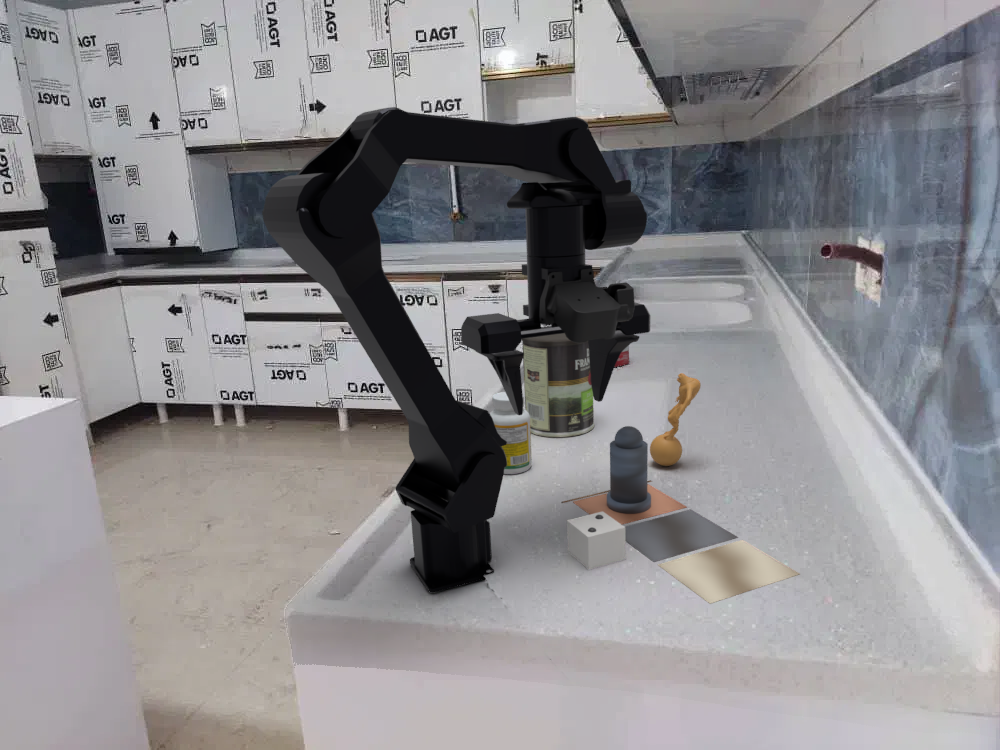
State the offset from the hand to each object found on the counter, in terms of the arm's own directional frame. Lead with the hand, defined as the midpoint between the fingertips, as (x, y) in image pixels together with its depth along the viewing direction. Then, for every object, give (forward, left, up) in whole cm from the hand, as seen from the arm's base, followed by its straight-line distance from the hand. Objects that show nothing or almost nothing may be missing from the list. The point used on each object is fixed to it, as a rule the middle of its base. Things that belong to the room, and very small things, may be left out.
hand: (559, 407), depth 77 cm
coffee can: (+15, +28, -13) cm, 34 cm away
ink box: (+41, +57, -13) cm, 71 cm away
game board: (+8, -9, -13) cm, 17 cm away
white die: (-1, -9, -13) cm, 16 cm away
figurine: (+20, +7, -13) cm, 25 cm away
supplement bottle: (+2, +17, -13) cm, 22 cm away
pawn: (+8, -1, -12) cm, 15 cm away
